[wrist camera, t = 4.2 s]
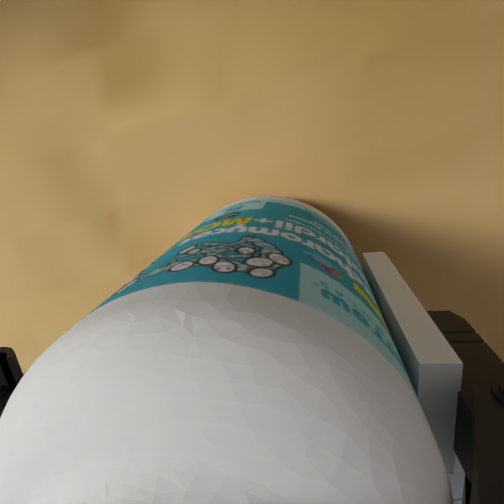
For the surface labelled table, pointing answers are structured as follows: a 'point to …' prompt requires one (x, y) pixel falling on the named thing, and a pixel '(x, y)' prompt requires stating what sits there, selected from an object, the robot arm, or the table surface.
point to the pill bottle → (227, 381)
